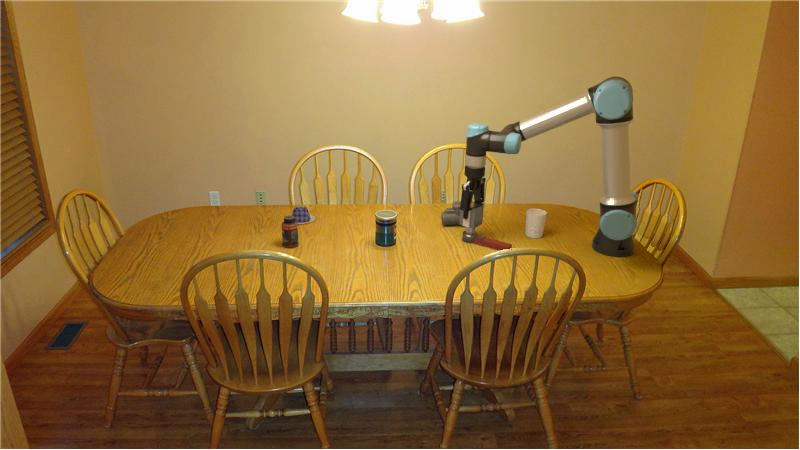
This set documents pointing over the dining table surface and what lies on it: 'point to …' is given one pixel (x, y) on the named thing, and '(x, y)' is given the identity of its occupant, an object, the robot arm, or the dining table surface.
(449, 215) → the pipe fitting
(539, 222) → the white cup
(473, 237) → the ratchet
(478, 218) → the dark metal cube
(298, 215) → the purple plaid hat
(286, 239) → the supplement bottle
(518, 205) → the dining table surface
